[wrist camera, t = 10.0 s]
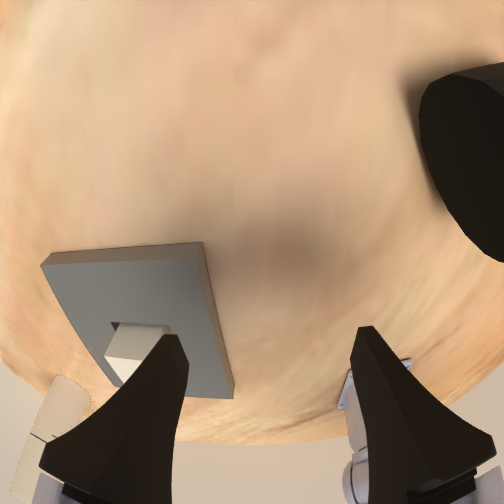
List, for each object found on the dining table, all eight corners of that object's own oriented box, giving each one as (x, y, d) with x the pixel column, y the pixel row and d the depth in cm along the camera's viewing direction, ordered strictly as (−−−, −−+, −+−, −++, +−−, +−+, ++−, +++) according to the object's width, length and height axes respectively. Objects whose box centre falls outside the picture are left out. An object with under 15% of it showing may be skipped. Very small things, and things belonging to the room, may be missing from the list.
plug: (186, 356, 26) (175, 402, 21) (148, 354, 26) (134, 396, 21) (168, 312, 23) (150, 361, 18) (126, 311, 23) (103, 355, 18)
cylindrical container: (54, 369, 32) (4, 490, 10) (90, 390, 33) (49, 517, 12) (57, 384, 35) (16, 491, 14) (90, 403, 37) (54, 513, 15)
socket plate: (234, 384, 28) (233, 399, 26) (119, 374, 29) (114, 386, 27) (201, 242, 19) (195, 257, 17) (51, 253, 20) (40, 265, 18)
